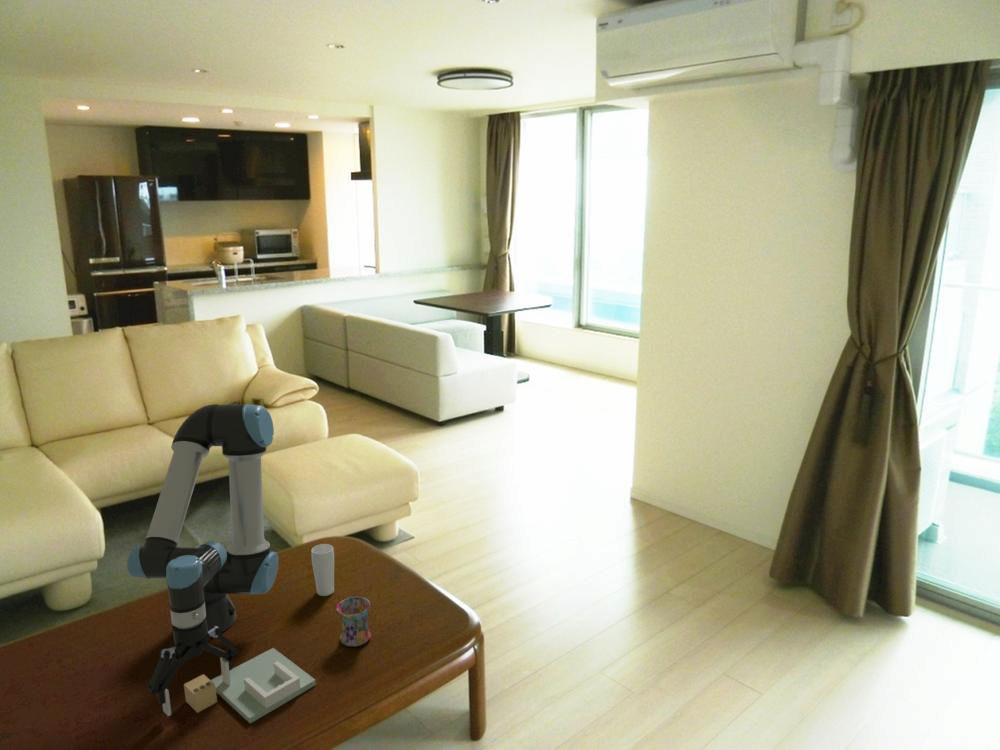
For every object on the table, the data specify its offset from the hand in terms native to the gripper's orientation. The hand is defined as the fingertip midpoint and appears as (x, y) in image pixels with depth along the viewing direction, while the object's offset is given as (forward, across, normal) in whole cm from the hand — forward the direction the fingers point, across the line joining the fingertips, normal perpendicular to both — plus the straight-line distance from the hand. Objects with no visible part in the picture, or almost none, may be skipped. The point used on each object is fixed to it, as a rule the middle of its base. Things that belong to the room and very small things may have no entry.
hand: (197, 699), depth 171 cm
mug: (+1, +42, -7) cm, 42 cm away
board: (+1, +14, -6) cm, 15 cm away
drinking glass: (0, +50, +19) cm, 54 cm away
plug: (+1, +1, 0) cm, 2 cm away
